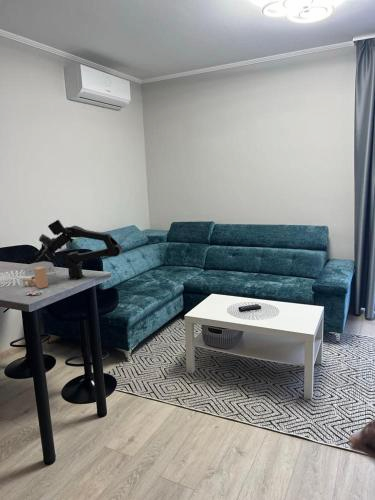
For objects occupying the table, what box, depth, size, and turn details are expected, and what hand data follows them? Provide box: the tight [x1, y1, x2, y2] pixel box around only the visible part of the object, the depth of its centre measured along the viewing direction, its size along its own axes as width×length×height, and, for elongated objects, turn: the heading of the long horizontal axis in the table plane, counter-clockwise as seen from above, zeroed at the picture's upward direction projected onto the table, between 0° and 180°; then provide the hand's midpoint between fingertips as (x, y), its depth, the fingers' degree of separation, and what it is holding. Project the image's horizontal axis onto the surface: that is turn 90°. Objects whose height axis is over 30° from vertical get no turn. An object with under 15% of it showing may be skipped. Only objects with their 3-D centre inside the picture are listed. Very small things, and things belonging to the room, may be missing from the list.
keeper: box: [18, 276, 32, 288], centre depth 192 cm, size 6×2×5 cm, turn 77°
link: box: [26, 267, 49, 289], centre depth 191 cm, size 14×5×10 cm, turn 47°
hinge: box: [24, 261, 57, 282], centre depth 210 cm, size 17×5×10 cm, turn 115°
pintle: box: [27, 277, 37, 287], centre depth 195 cm, size 6×6×4 cm
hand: (35, 259), depth 197 cm, fingers open, 9 cm apart
